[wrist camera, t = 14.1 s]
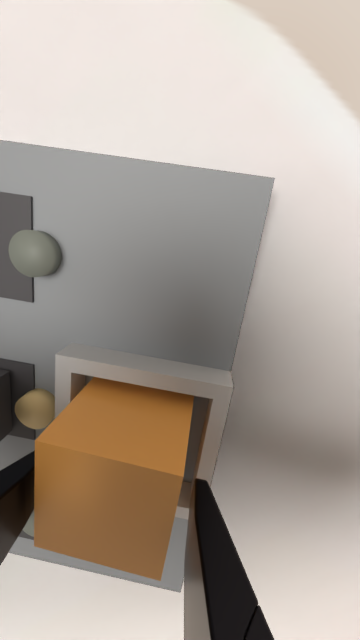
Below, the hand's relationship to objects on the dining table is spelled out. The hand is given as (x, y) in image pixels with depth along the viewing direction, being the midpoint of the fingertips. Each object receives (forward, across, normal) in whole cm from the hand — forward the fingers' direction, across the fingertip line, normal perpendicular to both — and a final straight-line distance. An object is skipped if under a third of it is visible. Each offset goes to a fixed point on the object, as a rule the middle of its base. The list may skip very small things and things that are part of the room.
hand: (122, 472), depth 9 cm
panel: (+4, +7, 0) cm, 8 cm away
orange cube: (+2, 0, 0) cm, 2 cm away
